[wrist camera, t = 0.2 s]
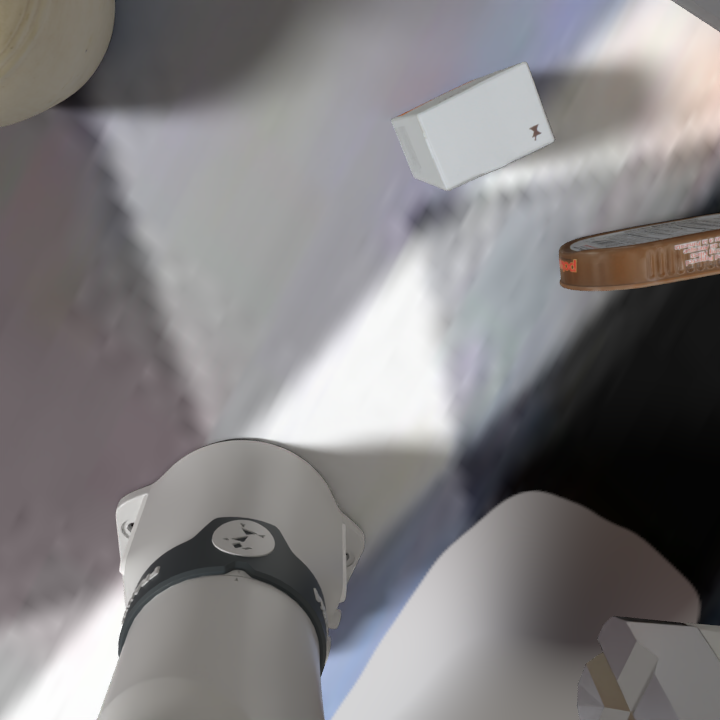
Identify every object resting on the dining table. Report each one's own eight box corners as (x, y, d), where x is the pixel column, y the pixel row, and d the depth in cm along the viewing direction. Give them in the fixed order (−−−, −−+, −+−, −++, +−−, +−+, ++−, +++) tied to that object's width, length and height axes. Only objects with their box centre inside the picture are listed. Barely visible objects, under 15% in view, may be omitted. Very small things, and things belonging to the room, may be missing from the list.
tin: (542, 279, 48) (589, 307, 40) (539, 235, 47) (586, 255, 39) (749, 242, 49) (836, 263, 41) (750, 197, 48) (839, 209, 40)
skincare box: (472, 77, 44) (531, 57, 32) (495, 141, 45) (559, 142, 34) (386, 119, 44) (414, 113, 33) (412, 181, 46) (447, 195, 34)
